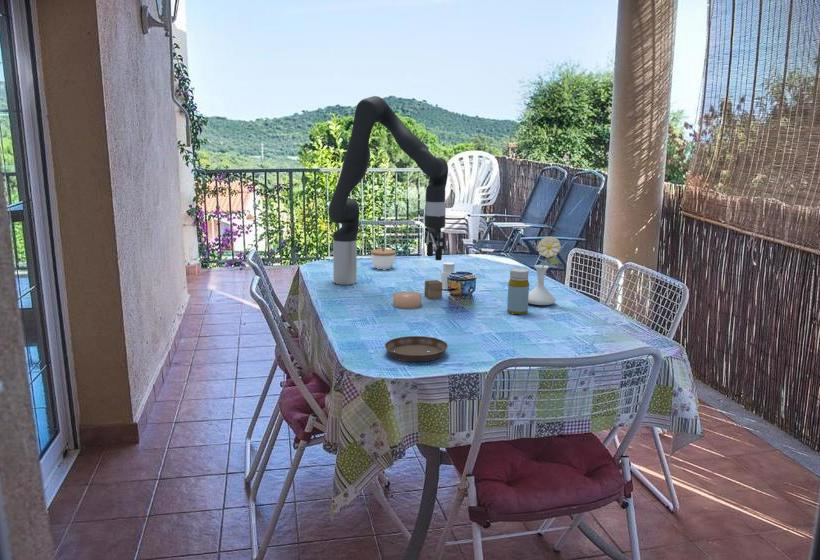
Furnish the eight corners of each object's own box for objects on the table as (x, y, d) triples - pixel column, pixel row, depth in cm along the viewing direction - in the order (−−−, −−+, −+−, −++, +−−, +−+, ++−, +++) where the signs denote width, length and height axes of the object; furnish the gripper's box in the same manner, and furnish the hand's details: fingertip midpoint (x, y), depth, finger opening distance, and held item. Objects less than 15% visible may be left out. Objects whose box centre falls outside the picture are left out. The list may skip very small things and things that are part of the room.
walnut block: (424, 296, 274) (424, 280, 273) (436, 295, 276) (437, 279, 274) (429, 299, 269) (429, 283, 268) (441, 298, 271) (442, 282, 270)
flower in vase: (517, 303, 266) (520, 235, 260) (534, 298, 274) (538, 231, 269) (548, 310, 257) (552, 239, 252) (565, 304, 265) (570, 236, 260)
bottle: (515, 308, 258) (517, 267, 255) (531, 312, 254) (534, 270, 250) (502, 312, 254) (504, 269, 250) (519, 316, 249) (521, 272, 246)
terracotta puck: (389, 303, 264) (389, 292, 263) (415, 301, 267) (415, 290, 266) (398, 310, 255) (398, 298, 254) (425, 308, 258) (425, 297, 257)
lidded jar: (394, 271, 316) (395, 249, 314) (370, 270, 316) (370, 249, 314) (395, 266, 326) (396, 245, 324) (371, 265, 327) (371, 245, 325)
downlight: (455, 291, 283) (456, 265, 281) (437, 290, 284) (438, 264, 282) (458, 287, 290) (459, 262, 289) (440, 286, 292) (441, 261, 290)
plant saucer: (374, 360, 203) (374, 349, 202) (398, 342, 219) (398, 332, 218) (435, 368, 197) (435, 358, 196) (455, 350, 213) (455, 340, 212)
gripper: (418, 211, 271) (417, 255, 274) (432, 216, 258) (431, 262, 261) (437, 211, 273) (436, 254, 277) (452, 216, 260) (451, 261, 264)
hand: (434, 258), depth 269 cm, fingers open, 8 cm apart
